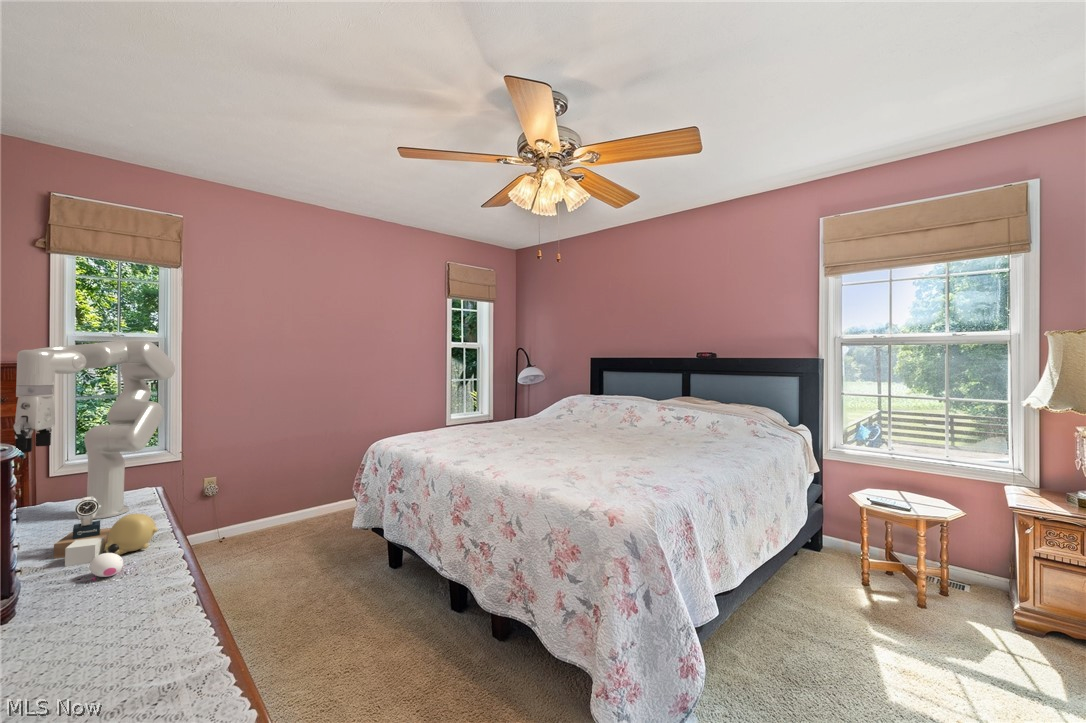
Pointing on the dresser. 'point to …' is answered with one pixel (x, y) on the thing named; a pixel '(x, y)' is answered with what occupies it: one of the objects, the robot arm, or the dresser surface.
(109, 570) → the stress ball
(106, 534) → the walnut block
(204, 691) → the dresser surface
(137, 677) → the dresser surface
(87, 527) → the watch
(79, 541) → the off-white block
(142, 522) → the beige rounded piece
